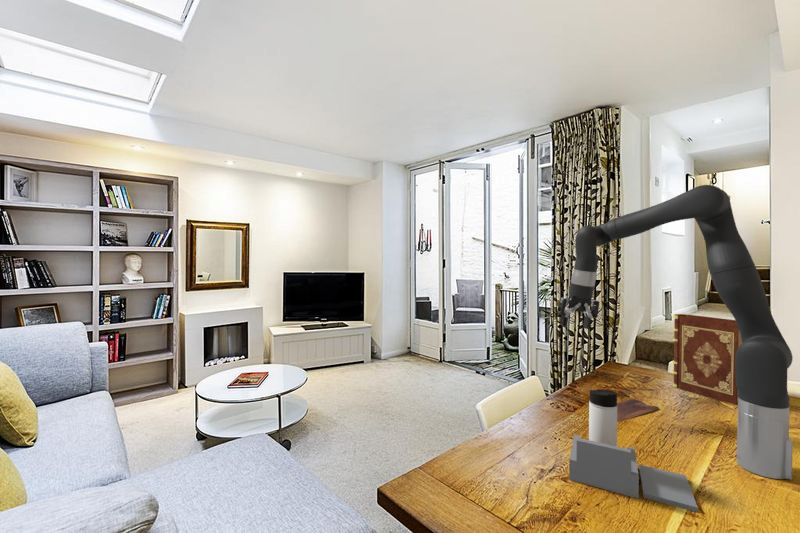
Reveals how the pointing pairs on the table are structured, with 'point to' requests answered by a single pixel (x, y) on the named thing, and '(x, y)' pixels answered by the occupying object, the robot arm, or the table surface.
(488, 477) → the table surface
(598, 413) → the travel mug
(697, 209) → the robot arm
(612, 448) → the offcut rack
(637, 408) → the wooden tablet
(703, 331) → the decorative book
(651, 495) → the slate tile
